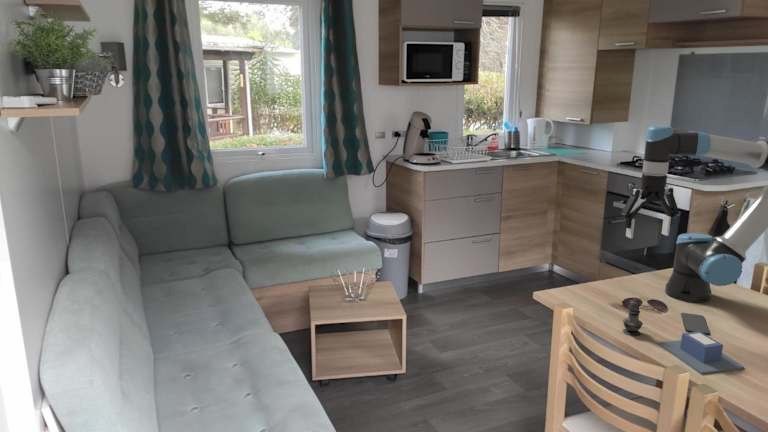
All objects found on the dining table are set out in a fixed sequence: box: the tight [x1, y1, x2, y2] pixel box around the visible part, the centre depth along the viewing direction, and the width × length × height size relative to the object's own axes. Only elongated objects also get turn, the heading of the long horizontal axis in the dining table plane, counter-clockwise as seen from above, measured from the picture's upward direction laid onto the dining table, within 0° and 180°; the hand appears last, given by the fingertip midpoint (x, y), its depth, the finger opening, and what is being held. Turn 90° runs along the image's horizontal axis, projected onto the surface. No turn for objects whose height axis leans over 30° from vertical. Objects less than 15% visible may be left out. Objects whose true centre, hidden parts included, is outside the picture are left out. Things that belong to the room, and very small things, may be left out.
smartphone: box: [680, 312, 711, 336], centre depth 192 cm, size 7×1×15 cm
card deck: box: [680, 331, 724, 363], centre depth 170 cm, size 9×6×5 cm, turn 15°
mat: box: [658, 339, 745, 375], centre depth 171 cm, size 14×18×1 cm
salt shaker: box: [622, 297, 644, 337], centre depth 185 cm, size 6×6×12 cm
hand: (647, 236), depth 196 cm, fingers open, 13 cm apart
